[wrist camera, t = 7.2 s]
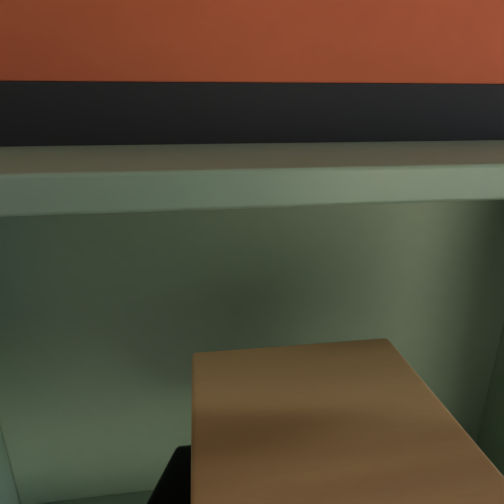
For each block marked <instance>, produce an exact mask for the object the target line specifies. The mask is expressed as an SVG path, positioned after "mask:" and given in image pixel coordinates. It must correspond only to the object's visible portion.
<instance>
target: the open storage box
mask: <svg viewBox="0 0 504 504" xmlns="http://www.w3.org/2000/svg"><path fill="white" fill-rule="evenodd" d="M382 338H386V339H389V341H390V342H391V343H392V344H393V345H394V347H395V348H396V349H397V350H398V351H399V353H400V354H401V355H402V356H403V357H404V358H405V360H406V361H407V362H408V363H409V364H410V366H411V367H412V368H413V369H414V370H415V372H416V373H417V374H418V375H419V376H420V378H421V379H422V380H423V381H424V382H425V383H426V385H427V386H428V387H429V388H430V389H431V391H432V392H433V393H434V394H435V395H436V397H437V398H438V399H439V400H440V401H441V403H442V404H443V405H444V406H445V407H446V408H447V410H448V411H449V412H450V413H451V414H452V416H453V417H454V418H455V419H456V420H457V422H458V423H459V424H460V425H461V426H462V427H463V429H464V430H465V431H466V432H467V433H468V435H469V436H470V437H471V438H472V439H473V441H474V442H475V443H476V444H477V445H478V447H479V448H480V449H481V450H482V451H483V452H484V454H485V455H486V456H487V457H488V458H489V460H490V461H491V462H492V463H493V464H494V466H495V467H496V468H497V469H498V470H499V472H500V473H501V474H502V475H503V476H504V140H475V141H398V142H321V143H245V144H168V145H91V146H14V147H0V504H146V503H147V501H148V500H149V498H150V496H151V494H152V492H153V490H154V488H155V486H156V484H157V483H158V481H159V479H160V477H161V475H162V473H163V471H164V469H165V468H166V466H167V464H168V462H169V460H170V458H171V456H172V454H173V453H174V451H175V449H176V448H177V447H178V446H183V445H191V408H192V355H193V353H198V352H211V351H224V350H237V349H251V348H264V347H277V346H290V345H303V344H317V343H330V342H343V341H356V340H369V339H382Z"/></svg>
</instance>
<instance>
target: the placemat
mask: <svg viewBox="0 0 504 504" xmlns="http://www.w3.org/2000/svg"><path fill="white" fill-rule="evenodd" d="M475 140H504V0H0V147H14V146H91V145H168V144H245V143H321V142H398V141H475Z"/></svg>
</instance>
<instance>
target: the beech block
mask: <svg viewBox="0 0 504 504" xmlns="http://www.w3.org/2000/svg"><path fill="white" fill-rule="evenodd" d="M191 504H504V476H503V475H502V474H501V473H500V472H499V470H498V469H497V468H496V467H495V466H494V464H493V463H492V462H491V461H490V460H489V458H488V457H487V456H486V455H485V454H484V452H483V451H482V450H481V449H480V448H479V447H478V445H477V444H476V443H475V442H474V441H473V439H472V438H471V437H470V436H469V435H468V433H467V432H466V431H465V430H464V429H463V427H462V426H461V425H460V424H459V423H458V422H457V420H456V419H455V418H454V417H453V416H452V414H451V413H450V412H449V411H448V410H447V408H446V407H445V406H444V405H443V404H442V403H441V401H440V400H439V399H438V398H437V397H436V395H435V394H434V393H433V392H432V391H431V389H430V388H429V387H428V386H427V385H426V383H425V382H424V381H423V380H422V379H421V378H420V376H419V375H418V374H417V373H416V372H415V370H414V369H413V368H412V367H411V366H410V364H409V363H408V362H407V361H406V360H405V358H404V357H403V356H402V355H401V354H400V353H399V351H398V350H397V349H396V348H395V347H394V345H393V344H392V343H391V342H390V341H389V339H386V338H382V339H369V340H356V341H343V342H330V343H317V344H303V345H290V346H277V347H264V348H251V349H237V350H224V351H211V352H198V353H193V355H192V408H191Z"/></svg>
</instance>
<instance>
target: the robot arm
mask: <svg viewBox="0 0 504 504" xmlns="http://www.w3.org/2000/svg"><path fill="white" fill-rule="evenodd" d="M146 504H191V445H183V446H178V447H177V448H176V449H175V451H174V453H173V454H172V456H171V458H170V460H169V462H168V464H167V466H166V468H165V469H164V471H163V473H162V475H161V477H160V479H159V481H158V483H157V484H156V486H155V488H154V490H153V492H152V494H151V496H150V498H149V500H148V501H147V503H146Z"/></svg>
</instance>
